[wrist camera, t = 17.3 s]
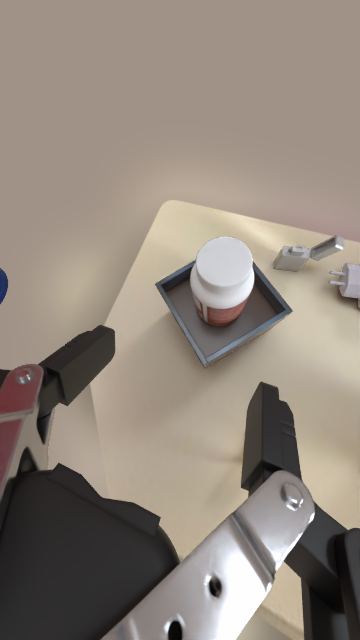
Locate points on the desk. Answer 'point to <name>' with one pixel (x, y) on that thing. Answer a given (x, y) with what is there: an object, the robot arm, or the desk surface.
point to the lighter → (306, 254)
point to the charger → (349, 281)
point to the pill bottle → (222, 280)
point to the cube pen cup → (223, 340)
